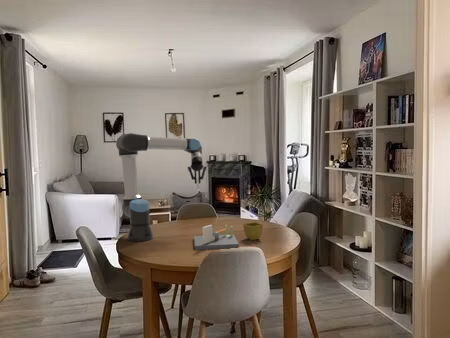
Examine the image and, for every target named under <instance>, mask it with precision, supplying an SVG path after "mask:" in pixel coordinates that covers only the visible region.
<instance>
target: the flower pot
mask: <svg viewBox="0 0 450 338" xmlns="http://www.w3.org/2000/svg"><path fill="white" fill-rule="evenodd" d="M242 225H243V232H244V235H245V237H246V238H247V239H249V240H250V241H255V240H259V239H260V238H261V236H262V234H263V224H261V223H260V222H255V221H254V222H248V223H247V222H246V223H243V224H242Z"/></svg>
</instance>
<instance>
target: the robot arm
mask: <svg viewBox="0 0 450 338" xmlns="http://www.w3.org/2000/svg"><path fill="white" fill-rule="evenodd" d="M115 144H116V148H117V150H118V156H119V158H120V159H121V165H122V177H123V186H124V196H123V197H122V206H121V210H122V213H123V215H125V216H126V217H127V218H128V219H129V224H130V225H129V231H128V233H127V240H128V241H129V242H145V241H150V240H152V239H153V238H154V233H153V230H152V228H151V223H150V222H151V220H150V217H151V216H150V209H151V208H150V202H149V201H148V200H146V199H142V195H140V192H139V181H138V180H139V179H138V170H137V169H138V168H137V159H136V157H137V156H138V154H139V152H143V151H144V152H146V151H148V150H171V151H173V150H174V151H184V152H187V153H188V154H190V156H191V157H190V159H191V164H190V166H187V171H188V172H189V175H190V177H191V178H190V179H191V180H194V185H195V184H196V189H200V184H201V181H202V180H204V176H205V173H206V171H207V168H208V167H207V166H206V165H204V163H203V146H202V144H201V142H200V140H199V139H198V138H195V137H193V138H184V137H181V136H179V137H162V136H161V137H157V136H148V135H147V134H140V133H139V134H138V133H133V132H132V133H131V132H130V133H123V134H121V135H120V136H118V138H117V139H116V141H115ZM192 170H193V171H194V172H193V171H192ZM201 170H202V172H201ZM197 172H198V176H197ZM193 173H194V174H193Z"/></svg>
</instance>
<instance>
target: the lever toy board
mask: <svg viewBox="0 0 450 338" xmlns="http://www.w3.org/2000/svg"><path fill="white" fill-rule="evenodd" d="M233 226H234V225H233ZM233 226H232V225H231V226H230V234H228V225H227V224H224V229H227V230H226V231H224V234H219V240H214V241H211V242H209V243H206V244H203V235H194V238H193V239H194V250H213V249H214V250H215V249H218V250H219V249H235V248H234V247H239V248H240V245H239V242H238V240H237V238H236V235H235V234H234V227H233Z"/></svg>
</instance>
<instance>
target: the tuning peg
mask: <svg viewBox="0 0 450 338" xmlns="http://www.w3.org/2000/svg"><path fill="white" fill-rule="evenodd" d="M226 230H227V231H228V228H227V229H225V228H223V229H221V230H218V231H213V224H209V225H205V226H202V230H201V231H202V236H203V244H206V243H209V242H211V241H214V240H219V235H220V233H224V232H225V231H226Z"/></svg>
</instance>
